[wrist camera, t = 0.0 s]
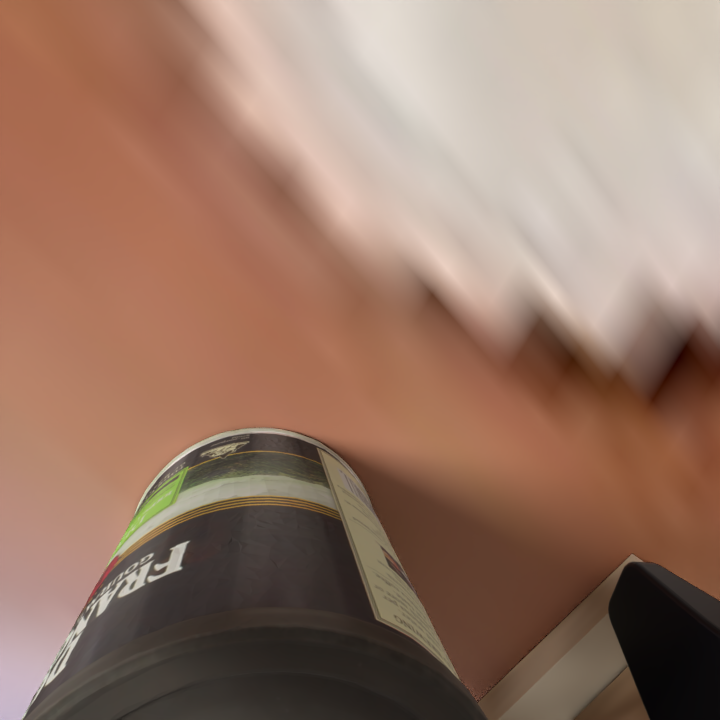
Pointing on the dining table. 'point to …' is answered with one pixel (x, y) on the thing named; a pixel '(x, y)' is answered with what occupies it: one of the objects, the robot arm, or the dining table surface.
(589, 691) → the base
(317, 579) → the coffee can
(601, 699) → the gauge carriage
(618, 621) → the robot arm
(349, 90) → the dining table surface
